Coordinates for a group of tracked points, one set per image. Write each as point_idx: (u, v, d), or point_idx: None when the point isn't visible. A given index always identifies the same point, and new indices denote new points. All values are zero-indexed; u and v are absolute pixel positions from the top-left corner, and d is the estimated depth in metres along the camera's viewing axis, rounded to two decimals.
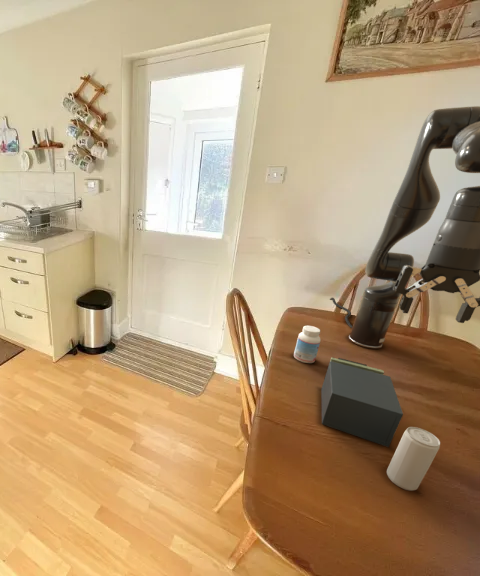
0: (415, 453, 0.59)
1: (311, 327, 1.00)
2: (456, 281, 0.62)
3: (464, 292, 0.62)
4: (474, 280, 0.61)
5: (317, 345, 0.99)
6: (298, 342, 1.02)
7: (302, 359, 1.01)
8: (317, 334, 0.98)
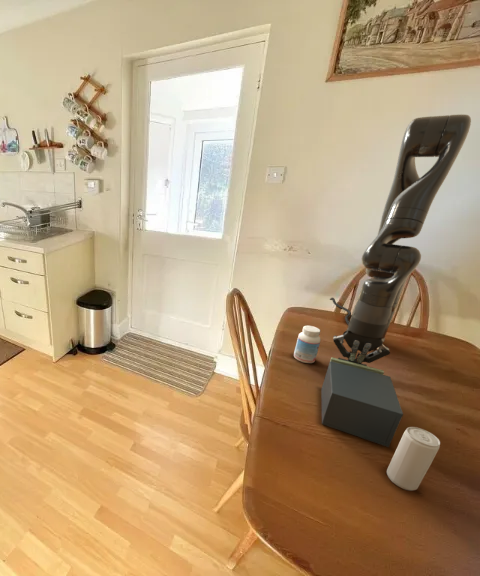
0: (415, 453, 0.59)
1: (311, 327, 1.00)
2: (366, 344, 0.85)
3: (363, 352, 0.86)
4: (378, 344, 0.84)
5: (317, 345, 0.99)
6: (298, 342, 1.02)
7: (302, 359, 1.01)
8: (317, 334, 0.98)
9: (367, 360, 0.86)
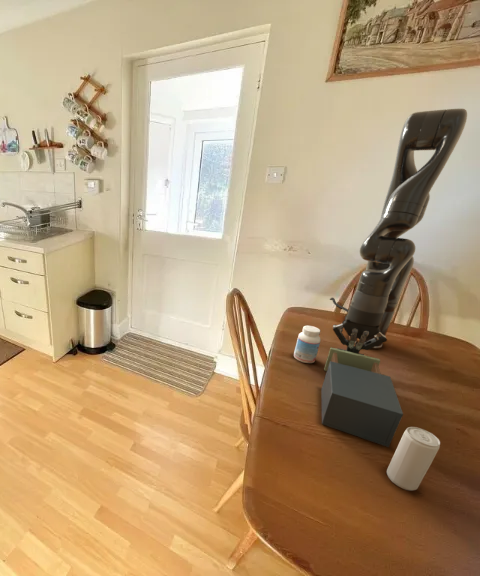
0: (415, 453, 0.59)
1: (311, 327, 1.00)
2: (364, 332, 0.89)
3: (361, 339, 0.90)
4: (376, 332, 0.88)
5: (317, 345, 0.99)
6: (298, 342, 1.02)
7: (302, 359, 1.01)
8: (317, 334, 0.98)
9: (365, 347, 0.91)
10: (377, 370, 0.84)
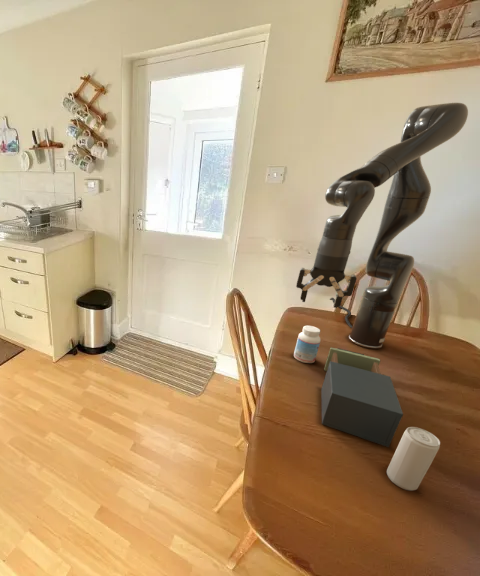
0: (415, 453, 0.59)
1: (311, 327, 1.00)
2: (330, 278, 0.91)
3: (335, 286, 0.91)
4: (341, 278, 0.90)
5: (317, 345, 0.99)
6: (298, 342, 1.02)
7: (302, 359, 1.01)
8: (317, 334, 0.98)
9: (348, 293, 0.90)
10: (377, 370, 0.84)
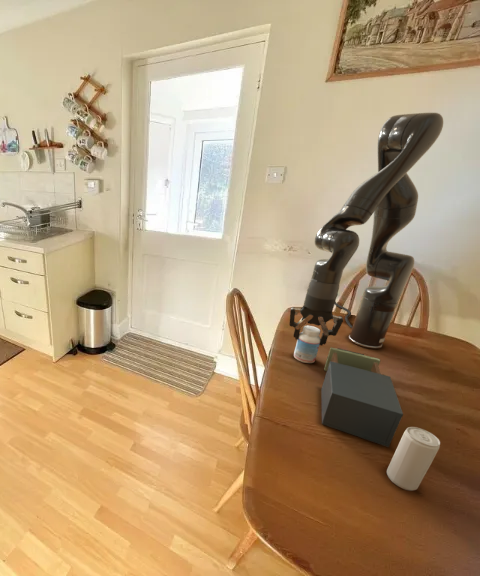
0: (415, 453, 0.59)
1: (311, 327, 1.00)
2: (318, 318, 0.96)
3: (322, 325, 0.96)
4: (329, 318, 0.95)
5: (317, 345, 0.99)
6: (298, 342, 1.02)
7: (302, 359, 1.01)
8: (317, 334, 0.98)
9: (332, 333, 0.96)
10: (377, 370, 0.84)
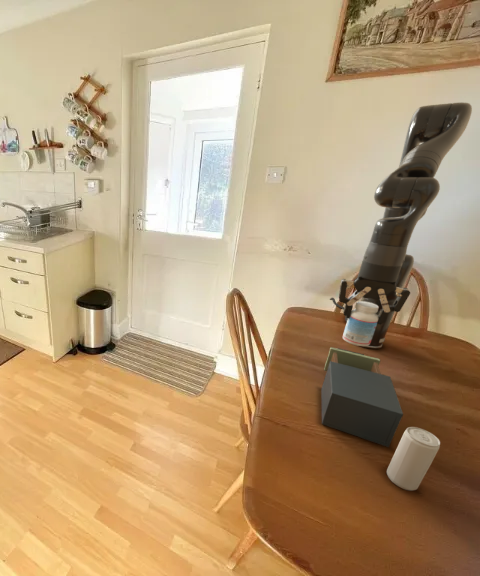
0: (415, 453, 0.59)
1: (366, 303, 0.84)
2: (378, 291, 0.79)
3: (382, 300, 0.79)
4: (392, 290, 0.78)
5: (375, 324, 0.82)
6: (350, 321, 0.85)
7: (355, 341, 0.84)
8: (375, 311, 0.81)
9: (395, 309, 0.79)
10: (377, 370, 0.84)
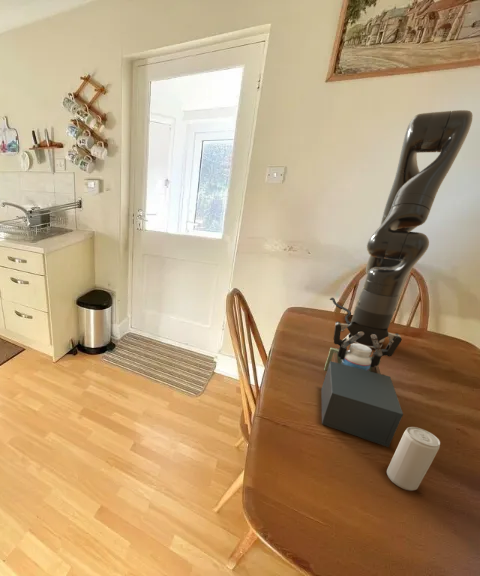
0: (415, 453, 0.59)
1: (360, 345, 0.86)
2: (371, 336, 0.82)
3: (375, 344, 0.82)
4: (384, 335, 0.81)
5: (368, 367, 0.84)
6: (344, 363, 0.88)
7: None
8: (368, 354, 0.84)
9: (387, 353, 0.82)
10: (377, 370, 0.83)
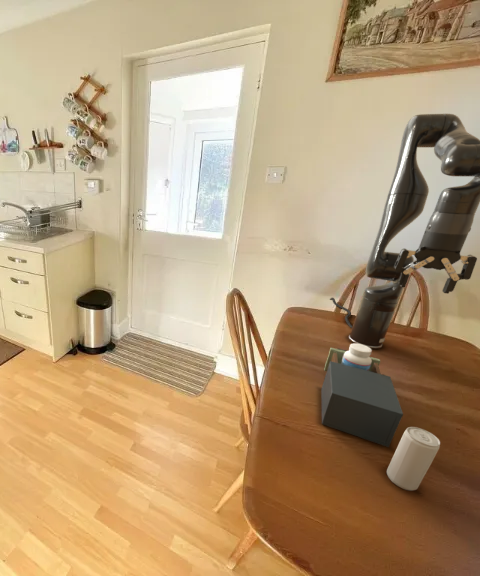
0: (415, 453, 0.59)
1: (360, 345, 0.86)
2: (442, 260, 0.80)
3: (448, 269, 0.80)
4: (456, 259, 0.79)
5: (368, 367, 0.84)
6: (344, 363, 0.87)
7: None
8: (368, 354, 0.84)
9: (465, 276, 0.79)
10: (377, 370, 0.83)
